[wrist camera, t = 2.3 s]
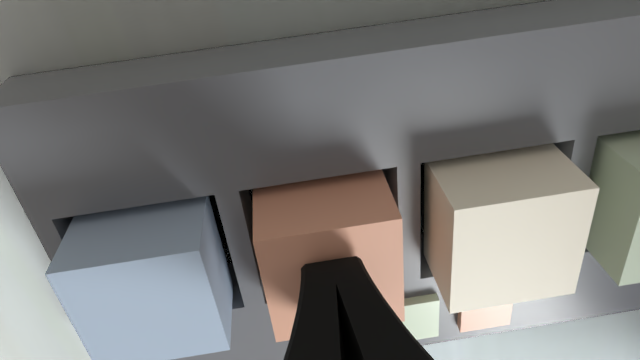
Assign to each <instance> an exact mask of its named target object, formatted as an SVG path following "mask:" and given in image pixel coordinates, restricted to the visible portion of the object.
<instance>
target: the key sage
mask: <svg viewBox="0 0 640 360" xmlns="http://www.w3.org/2000/svg"><path fill="white" fill-rule="evenodd" d="M589 178H590V179H591V180H592V181H593V182H594V183H595V184H596V185H597V186H598V187H599V188H600V189H599V193H598V197H597V202H596V206H595V210H594V214H593V219H592V223H591V227H590V231H589V236H588V240H587V244H586V249H587V250H588V251H589V252H590V253H591V255H592V256H593V257H594V258H595V259H596V260H597V262H598V263H599V264H600V265H601V266H602V267H603V269H604V270H605V271H606V272H607V273H608V274H609V276H610V277H611V278H612V279H613V280H614V281H615V283H616V284H617V285H618V286H623V285H629V284H635V283H640V130H636V131H629V132H623V133H616V134H610V135H603V136H598V138H597V142H596V147H595V151H594V156H593V161H592V165H591V170H590V174H589Z"/></svg>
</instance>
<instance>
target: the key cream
mask: <svg viewBox="0 0 640 360" xmlns="http://www.w3.org/2000/svg"><path fill="white" fill-rule="evenodd" d="M599 189H600V188H599V187H598V186H597V185H596V184H595V183H594V182H593V181H592V180H591V179H590V178H589V177H588V176H587V175H586V174H585V173H584V172H583V171H581V170H580V169H579V168H578V167H577V166H576V165H575V164H574V163H573V162H572V161H571V160H570V159H569V158H568V157H567V156H566V155H565V154H564V153H562V152H561V151H560V150H559V149H558V148H557V147H556V146H555V145H554V144H553V143H551V144H544V145H537V146H531V147H524V148H518V149H511V150H505V151H498V152H492V153H485V154H478V155H472V156H465V157H459V158H452V159H446V160H439V161H432V162H426V163H424V256H425V258H426V261H427V263H428V265H429V268H430V270H431V272H432V275H433V277H434V279H435V281H436V284H437V286H438V288H439V291H440V293H441V295H442V298H443V300H444V302H445V305H446V307H447V309H448V311H449V314H452V313H459V312H465V311H471V310H477V309H483V308H489V307H495V306H501V305H507V304H513V303H520V302H526V301H532V300H538V299H544V298H550V297H556V296H562V295H568V294H574V293H575V291H576V287H577V282H578V278H579V274H580V270H581V265H582V261H583V257H584V253H585V248H586V244H587V240H588V236H589V231H590V227H591V223H592V219H593V214H594V210H595V206H596V202H597V197H598V193H599Z"/></svg>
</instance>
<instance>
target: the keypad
mask: <svg viewBox="0 0 640 360" xmlns="http://www.w3.org/2000/svg"><path fill="white" fill-rule="evenodd" d="M636 130H640V0H550V1H543V2H536V3H529V4H522V5H515V6H508V7H501V8H494V9H486V10H479V11H472V12H465V13H458V14H451V15H444V16H437V17H430V18H423V19H416V20H409V21H402V22H395V23H388V24H381V25H374V26H367V27H359V28H352V29H345V30H338V31H331V32H324V33H317V34H310V35H303V36H296V37H289V38H282V39H275V40H268V41H261V42H254V43H247V44H240V45H232V46H225V47H218V48H211V49H204V50H197V51H190V52H183V53H176V54H169V55H162V56H155V57H148V58H141V59H134V60H127V61H120V62H113V63H105V64H98V65H91V66H84V67H77V68H70V69H63V70H56V71H49V72H42V73H35V74H28V75H21V76H14V77H9V78H8V79H7V80H6V81H5V82H4V83H3V84H1V85H0V166H1V167H2V169H3V171H4V173H5V175H6V177H7V179H8V181H9V183H10V184H11V186H12V188H13V190H14V192H15V194H16V196H17V198H18V200H19V201H20V203H21V205H22V207H23V209H24V211H25V213H26V215H27V216H28V218H29V220H30V222H31V224H32V226H33V228H34V230H35V232H36V233H37V235H38V237H39V239H40V241H41V243H42V245H43V247H44V249H45V250H46V252H47V254H48V256H49V258H50V260H51V261H52V259H53V257H54V255H55V253H56V251H57V249H58V247H59V245H60V243H61V241H62V239H63V237H64V235H65V233H66V231H67V229H68V227H69V225H70V223H71V221H72V219H73V217H74V216H78V215H85V214H91V213H98V212H104V211H111V210H118V209H124V208H131V207H137V206H144V205H150V204H157V203H164V202H170V201H177V200H183V199H190V198H196V197H203V196H209V195H215V199H216V203H217V206H218V210H219V214H220V217H221V221H222V225H223V229H224V232H225V236H226V240H227V243H228V247H229V251H230V255H231V258H232V262H233V263H231V264H228V268H229V271H230V275H231V279H232V282H233V298H232V321H231V344H230V350H227V351H221V352H215V353H208V354H202V355H196V356H190V357H184V358H178V359H172V360H283V359H284V356H285V353H286V350H287V347H288V343H289V340H288V341H282V342H276V339H275V335H274V331H273V327H272V322H271V318H270V314H269V309H268V305H267V301H266V297H265V292H264V288H263V284H262V280H261V275H260V271H259V267H258V262H257V258H256V254H255V250H254V245H253V208H252V203H251V199H250V194H249V189H255V188H262V187H268V186H275V185H282V184H288V183H295V182H301V181H308V180H314V179H321V178H328V177H334V176H341V175H347V174H354V173H360V172H367V171H373V170H380V169H382V171H383V173H384V176H385V178H386V181H387V183H388V185H389V188H390V190H391V193H392V195H393V197H394V200H395V202H396V205H397V207H398V209H399V212H400V214H401V217H402V223H403V266H404V309H405V321H404V322H402V323H403V324H404V325H405V326H406V328H407V329H408V330H409V331H410V333H411V334H412V335H413V336H414V337H415V339H416V340H417V341H418V342H419V343H420V344H421V345H428V344H434V343H440V342H446V341H452V340H458V339H464V338H470V337H476V336H482V335H488V334H494V333H500V332H506V331H512V330H518V329H524V328H530V327H536V326H542V325H548V324H554V323H560V322H566V321H572V320H578V319H584V318H590V317H596V316H602V315H608V314H615V313H621V312H627V311H633V310H639V309H640V283H635V284H629V285H623V286H618V285H617V284H616V283H615V281H614V280H613V279H612V278H611V277H610V276H609V274H608V273H607V272H606V271H605V270H604V269H603V267H602V266H601V265H600V264H599V263H598V262H597V260H596V259H595V258H594V257H593V256H592V255H591V253H590V252H589V251H588V250H587V249H586V248H585V253H584V257H583V261H582V265H581V270H580V274H579V278H578V282H577V287H576V291H575V293H574V294H568V295H562V296H556V297H550V298H544V299H538V300H532V301H526V302H520V303H513V304H507V305H501V306H495V307H489V308H483V309H477V310H471V311H465V312H459V313H452V314H449V311H448V309H447V307H446V305H445V302H444V300H443V298H442V295H441V293H440V291H439V288H438V286H437V284H436V281H435V279H434V277H433V275H432V272H431V270H430V268H429V265H428V263H427V261H426V258H425V256H424V233H421V234H420V183H421V163H426V162H432V161H439V160H446V159H452V158H459V157H465V156H472V155H478V154H485V153H492V152H498V151H505V150H511V149H518V148H524V147H531V146H537V145H544V144H551V143H553V144H554V145H555V146H556V147H557V148H558V149H559V150H560V151H561V152H562V153H564V154H565V155H566V156H567V157H568V158H569V159H570V160H571V161H572V162H573V163H574V164H575V165H576V166H577V167H578V168H579V169H580V170H581V171H583V172H584V173H585V174H586V175H587V176H588V177H589V174H590V170H591V165H592V161H593V156H594V151H595V147H596V142H597V138H598V136H603V135H610V134H616V133H623V132H629V131H636Z"/></svg>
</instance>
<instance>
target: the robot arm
mask: <svg viewBox="0 0 640 360" xmlns="http://www.w3.org/2000/svg"><path fill="white" fill-rule="evenodd" d="M283 360H434V359H433V358H432V357H431V356H430V355H429V354H428V352H427V351H426V350H425V349H424V348H423V347H422V345H421V344H420V343H419V342H418V341H417V340H416V339H415V337H414V336H413V335H412V334H411V333H410V331H409V330H408V329H407V328H406V326H405V325H404V324H403V323H402V321H401V320H400V319H399V317H398V316H397V315H396V313H395V312H394V311H393V309H392V308H391V307H390V305H389V304H388V303H387V301H386V300H385V298H384V297H383V296H382V294H381V292H380V291H379V289H378V288H377V286H376V285H375V283H374V282H373V280H372V278H371V277H370V275H369V273H368V272H367V270H366V268H365V266H364V264H363V262H362V260H361V259H360V258H359V257H357V256H352V257H346V258H340V259H333V260H327V261H321V262H315V263H308V264H305V265H304V266H303V267H302V268H301V284H300V293H299V299H298V305H297V310H296V315H295V319H294V323H293V327H292V332H291V336H290V340H289V343H288V347H287V350H286V353H285V356H284V359H283Z"/></svg>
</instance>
